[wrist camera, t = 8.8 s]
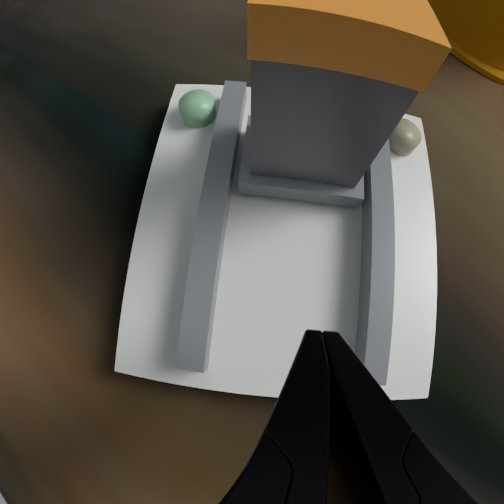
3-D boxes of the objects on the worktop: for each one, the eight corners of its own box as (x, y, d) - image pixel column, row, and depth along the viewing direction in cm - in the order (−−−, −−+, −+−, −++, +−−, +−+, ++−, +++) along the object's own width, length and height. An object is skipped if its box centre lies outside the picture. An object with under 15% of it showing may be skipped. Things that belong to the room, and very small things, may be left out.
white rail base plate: (411, 392, 16) (442, 402, 12) (128, 367, 16) (101, 374, 13) (409, 133, 20) (430, 105, 16) (181, 103, 20) (171, 68, 17)
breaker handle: (356, 208, 16) (468, 63, 6) (238, 193, 16) (227, 10, 6) (355, 143, 17) (430, -9, 7) (248, 128, 17) (249, -46, 7)
